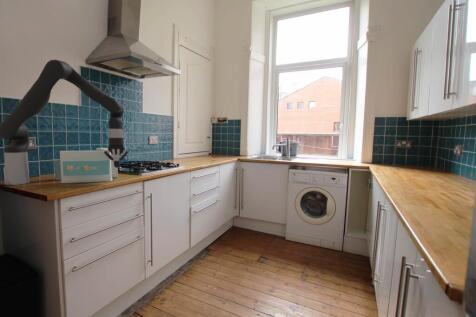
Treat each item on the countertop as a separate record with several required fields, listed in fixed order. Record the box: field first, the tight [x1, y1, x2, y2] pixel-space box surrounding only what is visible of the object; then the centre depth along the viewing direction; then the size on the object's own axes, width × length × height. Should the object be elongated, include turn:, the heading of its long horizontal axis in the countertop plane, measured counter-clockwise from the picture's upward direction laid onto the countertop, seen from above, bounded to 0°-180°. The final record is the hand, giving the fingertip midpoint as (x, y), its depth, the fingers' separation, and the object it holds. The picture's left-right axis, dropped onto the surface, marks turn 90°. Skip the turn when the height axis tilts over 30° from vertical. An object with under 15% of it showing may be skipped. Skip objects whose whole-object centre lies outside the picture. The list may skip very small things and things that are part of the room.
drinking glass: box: [53, 158, 61, 181], centre depth 146 cm, size 10×10×12 cm
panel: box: [63, 160, 110, 176], centre depth 132 cm, size 22×1×8 cm, turn 108°
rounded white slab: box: [95, 147, 119, 179], centre depth 161 cm, size 29×8×18 cm, turn 44°
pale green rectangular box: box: [59, 150, 113, 184], centre depth 136 cm, size 25×13×18 cm, turn 108°
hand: (117, 167), depth 137 cm, fingers closed
